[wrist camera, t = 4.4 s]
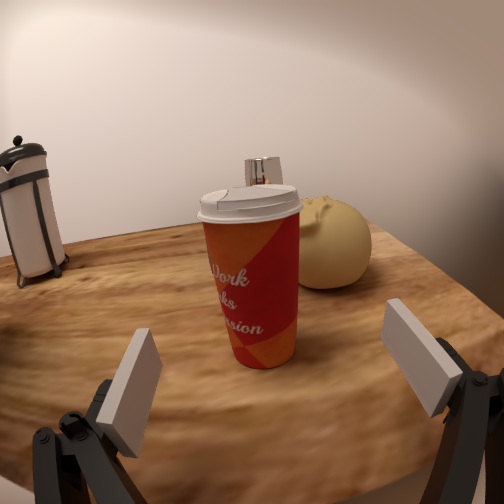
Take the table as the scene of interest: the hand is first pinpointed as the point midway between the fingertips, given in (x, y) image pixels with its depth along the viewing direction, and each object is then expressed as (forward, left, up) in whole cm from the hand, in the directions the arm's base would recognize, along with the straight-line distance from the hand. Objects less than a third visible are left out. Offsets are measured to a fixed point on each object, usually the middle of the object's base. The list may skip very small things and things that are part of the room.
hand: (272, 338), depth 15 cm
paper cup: (0, +8, -8) cm, 11 cm away
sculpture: (+9, +21, -8) cm, 24 cm away
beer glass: (+4, +42, -8) cm, 43 cm away
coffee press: (-45, +35, -8) cm, 58 cm away
